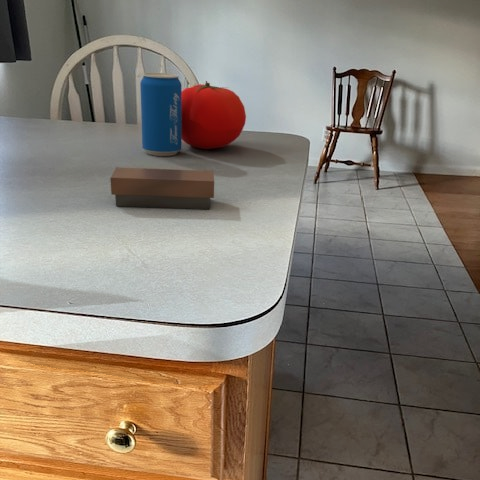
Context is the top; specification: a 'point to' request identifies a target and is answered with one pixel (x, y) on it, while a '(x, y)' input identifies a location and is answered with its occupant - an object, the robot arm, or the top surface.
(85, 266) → the top surface
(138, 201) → the scrub brush
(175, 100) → the beverage can
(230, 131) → the tomato
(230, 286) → the top surface
